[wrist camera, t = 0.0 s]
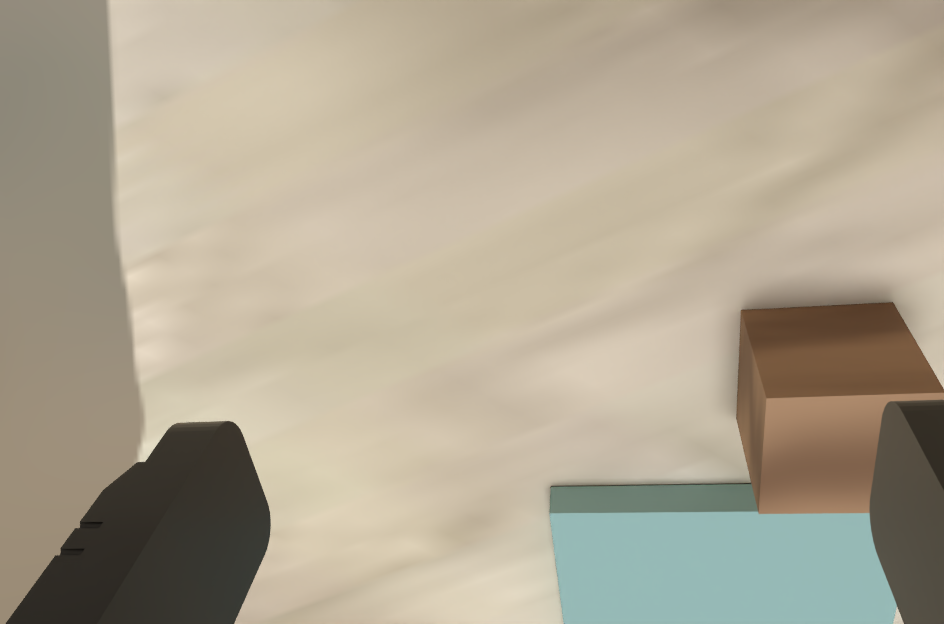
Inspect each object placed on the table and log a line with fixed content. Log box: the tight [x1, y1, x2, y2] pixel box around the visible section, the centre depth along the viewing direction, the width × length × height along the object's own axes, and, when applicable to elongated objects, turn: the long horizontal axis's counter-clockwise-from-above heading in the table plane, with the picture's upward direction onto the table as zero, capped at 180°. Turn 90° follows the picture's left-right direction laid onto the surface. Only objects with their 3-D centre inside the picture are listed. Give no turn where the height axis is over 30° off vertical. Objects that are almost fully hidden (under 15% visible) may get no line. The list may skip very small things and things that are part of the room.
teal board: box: [550, 484, 897, 624], centre depth 36 cm, size 14×14×2 cm
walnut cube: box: [736, 302, 944, 514], centre depth 27 cm, size 5×5×5 cm
